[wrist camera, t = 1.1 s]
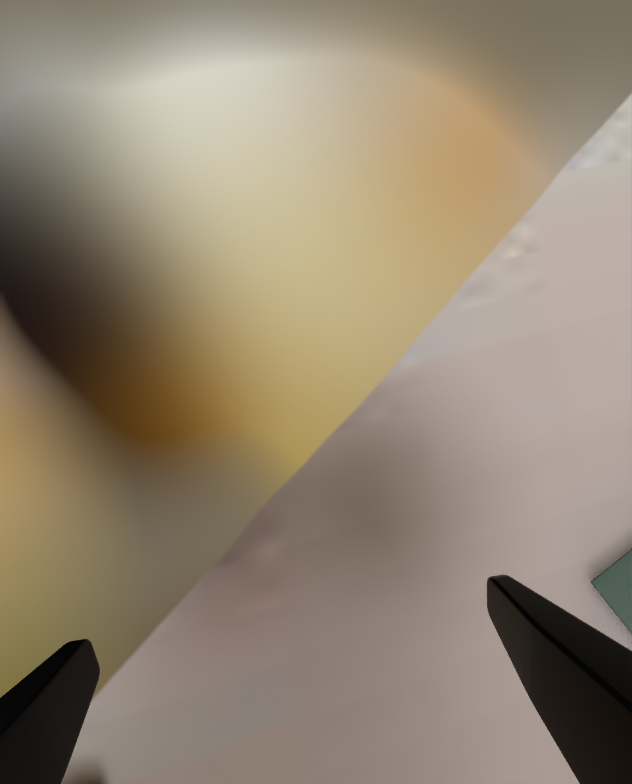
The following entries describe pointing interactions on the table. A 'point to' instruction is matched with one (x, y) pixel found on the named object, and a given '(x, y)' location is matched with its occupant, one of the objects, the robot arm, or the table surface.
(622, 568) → the rectangular frame
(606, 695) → the robot arm
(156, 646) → the table surface
